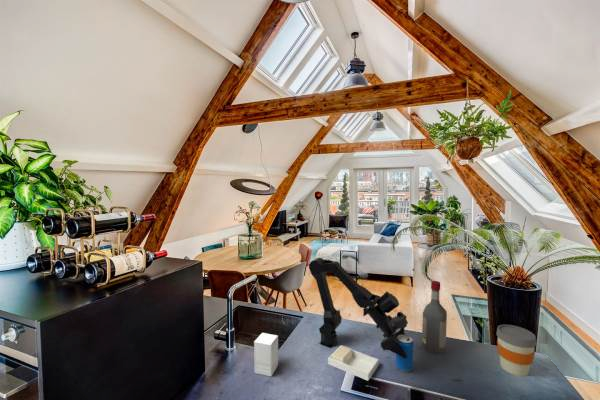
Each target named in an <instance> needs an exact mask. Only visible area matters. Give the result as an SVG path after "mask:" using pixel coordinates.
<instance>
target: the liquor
mask: <svg viewBox="0 0 600 400" xmlns="http://www.w3.org/2000/svg"><path fill="white" fill-rule="evenodd" d="M430 289H431V297H430V302H429V303H428V304H426V305H425V307H424V309H423V312H422V324H421V325H422V329H421V331H422V332H421V346H422V348H423V349H424V350H425V351H426V352H431V353H434V354H436V355H441V354H444V353H445V351H446V347H447V323H448V322H447V318H448V313H447V310H446V309H445V308H444V307H443V306H442V304H441V303H440V291H441V281H439V280H431V282H430Z"/></svg>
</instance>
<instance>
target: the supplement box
mask: <svg viewBox="0 0 600 400" xmlns="http://www.w3.org/2000/svg"><path fill="white" fill-rule="evenodd" d="M253 346H254V347H253V351H254V352H253V353H254V354H253V357H254V359H253V360H254V362H253V363H254V364H253V365H254V374H256V375H257V374H258V375H262V376H265V377H266V376H267V377H272V376H273V375H274V373H275V371H276V370H277V368H278V366H279V335H276V334H272V333H271V334H270V333H266V332H261V334H259V336H258V337H257V338H255V340H254V341H253Z"/></svg>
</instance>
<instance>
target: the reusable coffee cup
mask: <svg viewBox="0 0 600 400" xmlns="http://www.w3.org/2000/svg"><path fill="white" fill-rule="evenodd" d="M496 336H497V340H496V344H497V345H496V347H497V352H498V355H499V361H500V362H499V363H500V367H501V368H502V369H503V370H504V371H505V372H507V373H510V374H512V375H515V376H519V377H526V376H528V375H529V372H530V368H531V364H533V361H534V357H535V353H536V351H535V347H536V346H537V339H536V335H535V334H534V333H533V332H531V331H530V330H528V329H527V328H523V327H521V326H517V325H512V324H500V325H498V326H497V328H496Z"/></svg>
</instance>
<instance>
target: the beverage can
mask: <svg viewBox="0 0 600 400" xmlns="http://www.w3.org/2000/svg"><path fill="white" fill-rule="evenodd" d="M398 339H399V345H400V346H401V348H402V349H403V351H404V352H405V354H406V356H407V358H403V357H401V356H399V355H398V354H396V353H395V367H397V369H399V370H400V371H402V372H411V371H412V370H413V369H414V341H413V337H411V336H410V335H407V334H405V335H398V337H397V340H398Z"/></svg>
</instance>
